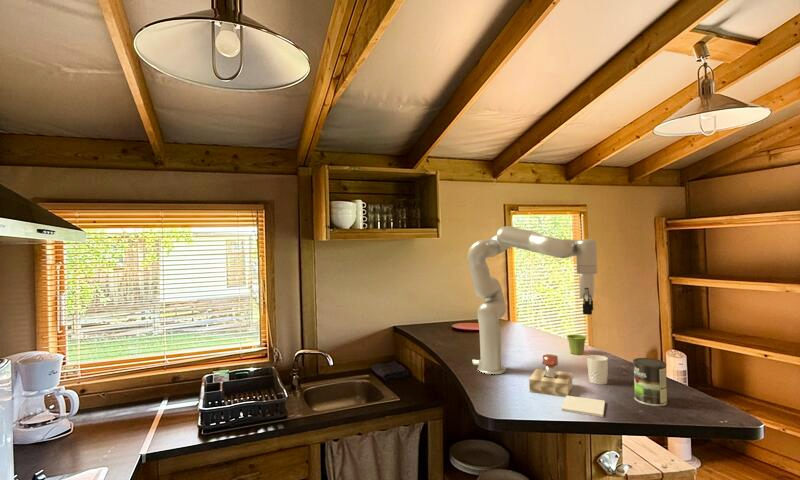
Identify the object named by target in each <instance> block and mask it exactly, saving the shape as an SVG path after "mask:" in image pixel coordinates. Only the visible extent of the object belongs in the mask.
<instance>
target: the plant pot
mask: <svg viewBox="0 0 800 480" xmlns="http://www.w3.org/2000/svg"><path fill="white" fill-rule="evenodd" d="M566 338H567V341H568V344H569V351H570V354H572V355H574V356H576V355H577V356H578V355H579V356H581V355H584V353H585V342H586V339H587V336H586V335H583V334H568V335H566Z"/></svg>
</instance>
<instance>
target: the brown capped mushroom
mask: <svg viewBox="0 0 800 480" xmlns="http://www.w3.org/2000/svg"><path fill="white" fill-rule="evenodd" d="M558 359H559V357H558V355H556V354H543V355H542V364H543V365H544V366H545V367H544V370H545V374H546V378H554V379H556V371H557V366H558V364H559V360H558Z"/></svg>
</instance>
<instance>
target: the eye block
mask: <svg viewBox="0 0 800 480" xmlns="http://www.w3.org/2000/svg"><path fill="white" fill-rule="evenodd" d="M528 384H529V392H530V393H535V394H544V395H549V396H550V395H551V396H556V397H564V398H566V395H567V396H570V393H571V390H572V387H573V373H572V372H570V371H569V372H567V371H560V370H559V371H557V370H556V379H554V378H546V374H545V369H540V368H535V370H534V371H533V372H532V374H531V375H530V377H529V379H528Z"/></svg>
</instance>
